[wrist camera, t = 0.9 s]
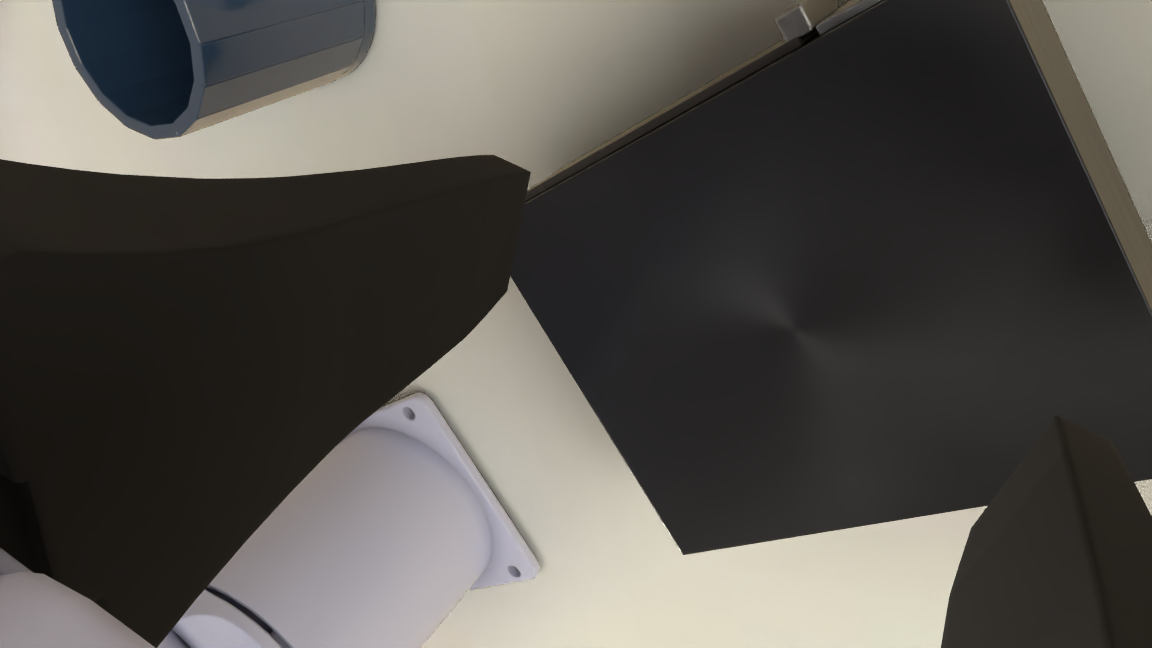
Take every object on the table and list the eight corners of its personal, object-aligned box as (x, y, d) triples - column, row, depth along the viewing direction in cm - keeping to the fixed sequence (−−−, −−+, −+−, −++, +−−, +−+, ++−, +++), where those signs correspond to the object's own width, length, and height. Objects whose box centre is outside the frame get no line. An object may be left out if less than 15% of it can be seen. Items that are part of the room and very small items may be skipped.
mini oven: (727, 477, 26) (682, 555, 23) (538, 158, 24) (465, 203, 21) (1208, 369, 18) (1223, 468, 15) (990, -114, 16) (965, -96, 13)
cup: (310, 107, 27) (145, 171, 22) (217, -40, 26) (24, -5, 21) (406, 25, 24) (236, 79, 19) (303, -145, 23) (99, -130, 18)
